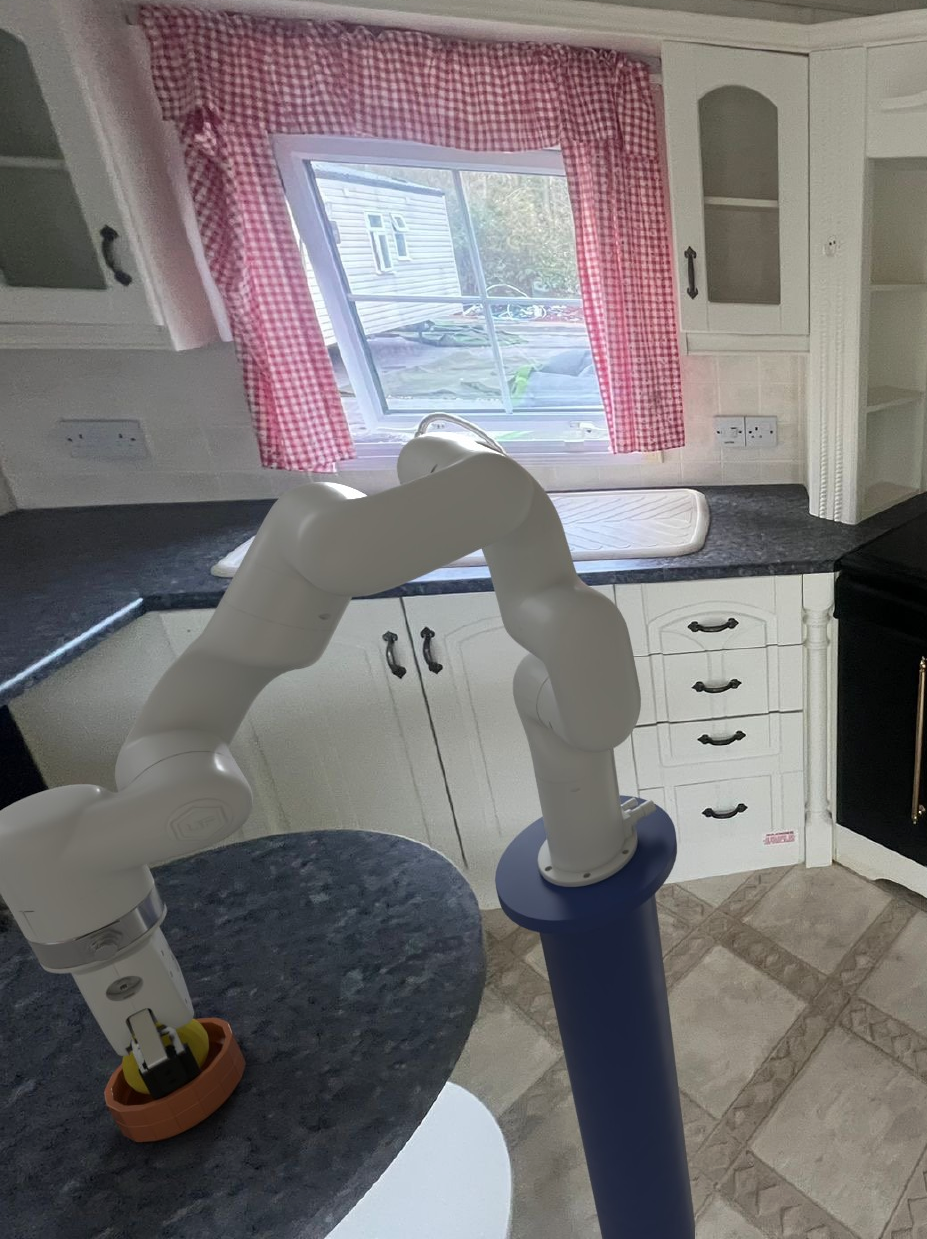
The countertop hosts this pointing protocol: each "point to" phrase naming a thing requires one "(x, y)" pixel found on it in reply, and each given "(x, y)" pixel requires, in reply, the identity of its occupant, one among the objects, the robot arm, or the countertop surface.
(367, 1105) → the countertop surface
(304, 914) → the countertop surface
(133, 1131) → the bowl
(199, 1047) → the lemon
